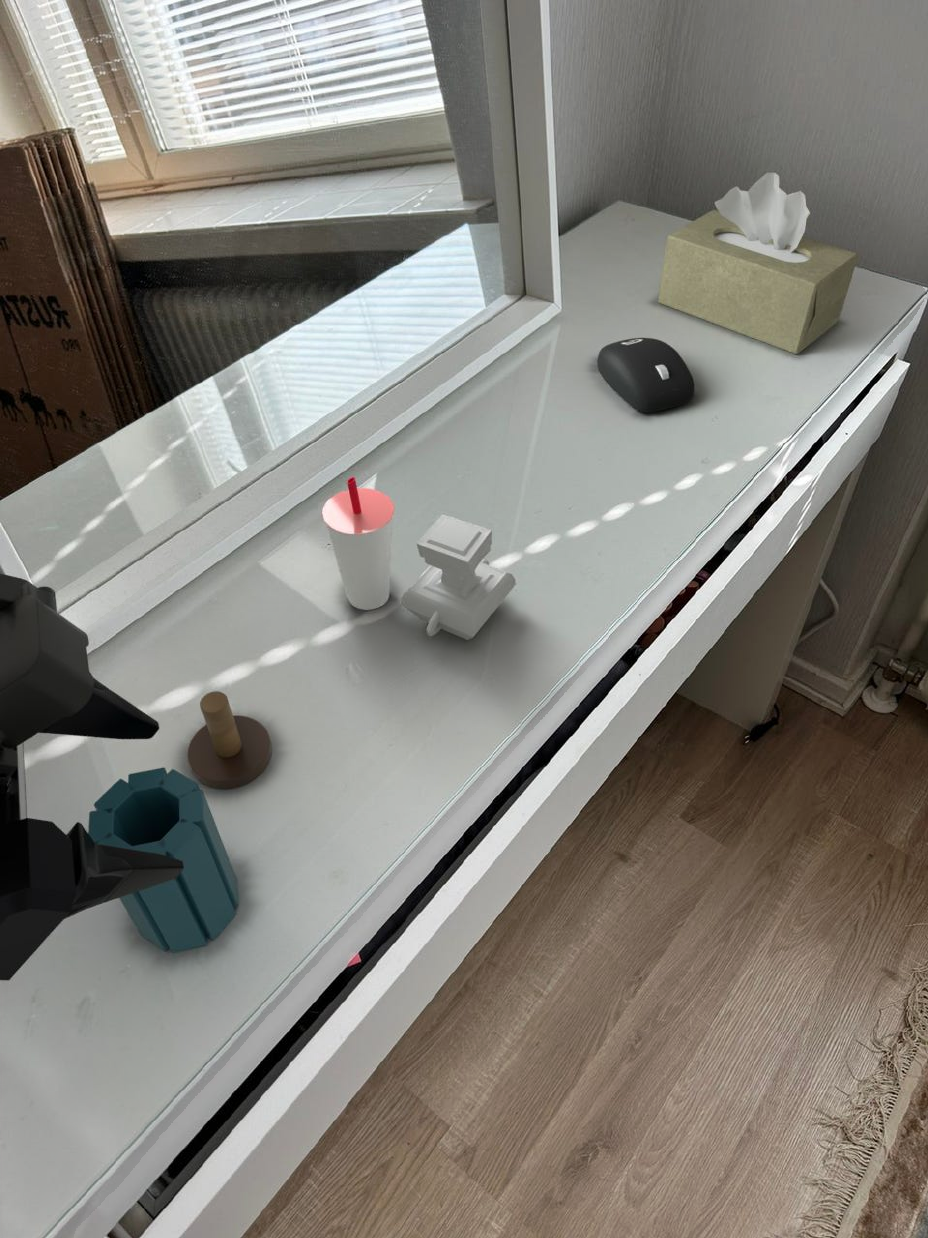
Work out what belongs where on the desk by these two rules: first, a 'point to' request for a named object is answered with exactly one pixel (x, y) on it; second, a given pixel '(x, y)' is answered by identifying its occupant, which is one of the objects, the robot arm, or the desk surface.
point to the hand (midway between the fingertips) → (166, 796)
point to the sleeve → (179, 828)
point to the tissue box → (757, 268)
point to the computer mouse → (646, 374)
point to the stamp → (456, 579)
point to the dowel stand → (227, 746)
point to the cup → (362, 543)
